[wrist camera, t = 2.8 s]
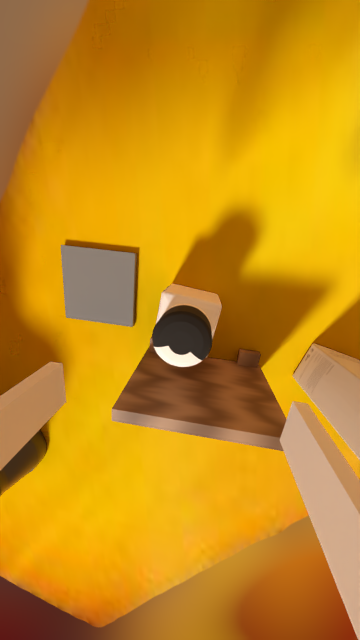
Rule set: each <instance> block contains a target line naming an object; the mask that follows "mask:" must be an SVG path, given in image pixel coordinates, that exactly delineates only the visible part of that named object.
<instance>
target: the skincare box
mask: <svg viewBox="0 0 360 640" xmlns="http://www.w3.org/2000/svg"><path fill="white" fill-rule="evenodd" d="M293 377H294V379H295V380H296V381H297V382H298V384H299V385H300V386H301V387H302V389H303V390H304V391H305V392H306V394H307V395H308V396H309V397H310V399H311V400H312V401H313V402H314V404H315V405H316V406H317V407H318V409H319V410H320V411H321V412H322V414H323V415H324V416H325V417H326V418H327V420H328V421H329V422H330V423H331V425H332V426H333V427H334V429H335V430H336V431H337V432H338V433H339V435H340V436H341V437H342V438H343V440H344V441H345V442H346V443H347V445H348V446H349V447H350V448H351V450H352V451H353V452H354V453H355V454H356V456H357V457H358V459H359V460H360V360H358V359H356V358H353V357H350V356H348V355H345V354H342V353H340V352H337V351H334V350H332V349H329V348H326V347H323V346H320V345H317V344H314V343H313V344H312V346H311V347H310V349H309V350H308V352H307V353H306V355H305V357H304V358H303V360H302V361H301V363H300V365H299V366H298V368H297V369H296V371H295V373H294V374H293Z"/></svg>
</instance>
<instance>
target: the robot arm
mask: <svg viewBox="0 0 360 640" xmlns="http://www.w3.org/2000/svg"><path fill="white" fill-rule="evenodd" d="M65 402H66V396H65V384H64V373H63V363H57V362H51V361H50V362H49V363H48V364H46V365H45V366H43V367H42V368H40V369H39V370H37V371H36V372H34V373H33V374H32V375H30V376H29V377H27V378H26V379H24V380H23V381H21V382H20V383H18V384H17V385H16V386H14V387H13V388H11V389H10V390H8V391H7V392H5V393H4V394H2V395H1V396H0V496H1V495H2V494H3V493H4V492H5V491H6V490H7V489H9V488H10V487H11V486H13V485H14V484H15V483H16V482H18V481H19V480H20V479H21V478H23V477H24V476H25V475H26V474H28V473H29V472H31V471H32V470H33V469H34V468H35V467H36V466H37V465H38V464H39V462H40V461H41V460H42V459H43V457H44V456H45V453H46V442H45V439H44V436H43V434H42V433H41V431H40V429H41V427H42V426H43V425H44V424H45V423H46V422H47V421H48V420H49V419H50V418H51V417H52V416H53V415H54V414H55V413H56V412H57V411H58V410H59V409H60V408H61V406H62V405H63V404H64V403H65ZM280 443H281V445H282V448H283V450H284V453H285V455H286V458H287V460H288V463H289V466H290V468H291V471H292V473H293V476H294V478H295V481H296V483H297V486H298V488H299V491H300V493H301V496H302V498H303V501H304V504H305V506H306V509H307V511H308V514H309V516H310V519H311V521H312V524H313V526H314V529H315V531H316V534H317V536H318V539H319V541H320V544H321V547H322V549H323V552H324V554H325V557H326V559H327V562H328V564H329V567H330V569H331V572H332V575H333V577H334V580H335V582H336V584H337V587H338V590H339V592H340V595H341V597H342V600H343V602H344V605H345V607H346V610H347V613H348V615H349V617H350V620H351V623H352V625H353V628H354V630H355V633H356V635H357V638H358V640H360V480H359V479H358V477H357V476H356V474H355V473H354V471H353V470H352V468H351V467H350V465H349V464H348V462H347V461H346V459H345V458H344V456H343V455H342V454H341V452H340V451H339V449H338V448H337V446H336V445H335V443H334V442H333V440H332V439H331V437H330V436H329V434H328V433H327V431H326V430H325V429H324V427H323V426H322V424H321V423H320V421H319V420H318V418H317V417H316V415H315V414H314V412H313V411H312V409H311V408H310V406H309V405H308V404H306V403H300V402H294V401H293V402H292V405H291V408H290V411H289V414H288V417H287V420H286V423H285V426H284V429H283V432H282V435H281V437H280Z"/></svg>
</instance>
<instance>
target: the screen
mask: <svg viewBox="0 0 360 640" xmlns="http://www.w3.org/2000/svg"><path fill="white" fill-rule="evenodd" d="M260 355H261V354H260V353H259V352H258V351H251V350H244V349H239V353H238V358H237V362H236V361H230V360H223V359H216V358H209V357H207V358H205V359H204V360H202V361H201V362H200V363H198V364H196V365H193V366H189V367H179V366H174V365H171V364H169V363H167V362H166V361H164V360H163V359H162V358H161V357H160V356H159V355H158V354H157V352H156V350H155V348H154V346H153V341H152V337H151V339H150V349H148V350H147V351H146V353H145V355H144V356H143V358H142V360H141V361H140V363H139V365H138V366H137V368H136V370H135V371H134V373H133V375H132V376H131V378H130V380H129V381H128V383H127V385H126V386H125V388H124V390H123V391H122V393H121V395H120V396H119V398H118V400H117V401H116V403H115V405H114V406H113V408H112V421H116V422H122V423H128V424H133V425H139V426H145V427H150V428H156V429H162V430H167V431H173V432H179V433H184V434H190V435H196V436H201V437H207V438H213V439H218V440H224V441H230V442H235V443H241V444H247V445H252V446H258V447H264V448H269V449H275V450H281V451H284V450H283V448H282V445H281V443H280V437H281V435H282V432H283V429H284V426H285V423H286V418H285V416H284V414H283V412H282V410H281V408H280V406H279V404H278V402H277V400H276V398H275V396H274V394H273V392H272V390H271V388H270V386H269V384H268V382H267V380H266V378H265V376H264V374H263V372H262V370H261V368H260V366H259V365H258V363H259V359H260Z"/></svg>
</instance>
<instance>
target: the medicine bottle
mask: <svg viewBox="0 0 360 640" xmlns="http://www.w3.org/2000/svg"><path fill="white" fill-rule="evenodd" d="M221 309H222V305H221V302H220V299H219V296H218V294H215V293H211V292H207V291H203V290H198V289H194V288H190V287H186V286H181V285H177V284H171V285H170V286H169V287H167V288H166V289H165V290H164V291H163V292H162V295H161V301H160V306H159V311H158V316H157V322H156V325H155V327H154V330H153V334H152V341H153V346H154V348H155V350H156V352H157V354H158V355H159V356H160V357H161V358H162V359H163V360H164V361H166V362H167V363H169V364H171V365H174V366H179V367H189V366H193V365H196V364H198V363H200V362H201V361H202V360H204V359H205V358H207V356H208V354H209V352H210V350H211V346H212V340H213V336H214V333H215V329H216V326H217V323H218V319H219V316H220V312H221Z"/></svg>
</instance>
